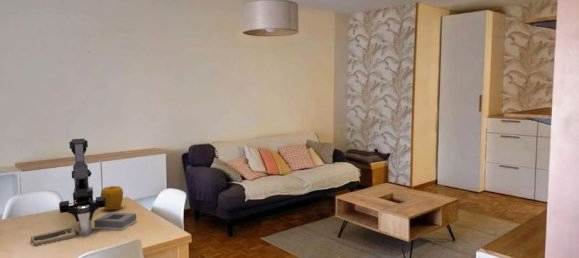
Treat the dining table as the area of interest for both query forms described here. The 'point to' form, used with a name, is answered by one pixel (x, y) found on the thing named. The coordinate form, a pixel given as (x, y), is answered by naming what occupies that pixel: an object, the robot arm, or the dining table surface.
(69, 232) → the computer
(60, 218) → the dining table surface
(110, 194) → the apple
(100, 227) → the square plate with hole
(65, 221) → the dining table surface
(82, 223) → the shiny metal cylinder
